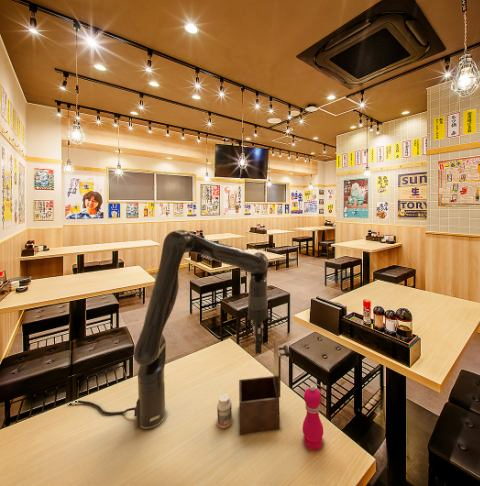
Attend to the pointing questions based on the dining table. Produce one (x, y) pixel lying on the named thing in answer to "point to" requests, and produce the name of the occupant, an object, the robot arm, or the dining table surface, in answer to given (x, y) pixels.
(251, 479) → the dining table surface
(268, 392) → the chest
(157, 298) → the robot arm
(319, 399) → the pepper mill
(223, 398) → the pill bottle
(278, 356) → the lid
